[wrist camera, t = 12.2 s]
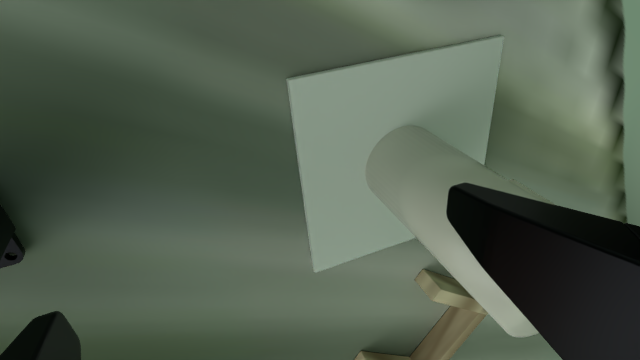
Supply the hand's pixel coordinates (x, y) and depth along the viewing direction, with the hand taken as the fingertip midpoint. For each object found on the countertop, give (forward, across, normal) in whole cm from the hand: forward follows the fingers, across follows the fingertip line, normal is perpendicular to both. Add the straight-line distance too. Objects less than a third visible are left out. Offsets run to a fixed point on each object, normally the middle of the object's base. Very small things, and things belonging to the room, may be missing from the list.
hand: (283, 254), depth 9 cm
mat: (+13, -11, +7) cm, 18 cm away
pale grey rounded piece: (+13, -12, +7) cm, 19 cm away
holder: (+13, -13, +25) cm, 31 cm away
